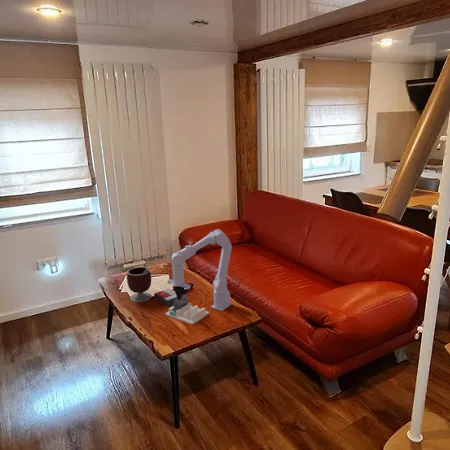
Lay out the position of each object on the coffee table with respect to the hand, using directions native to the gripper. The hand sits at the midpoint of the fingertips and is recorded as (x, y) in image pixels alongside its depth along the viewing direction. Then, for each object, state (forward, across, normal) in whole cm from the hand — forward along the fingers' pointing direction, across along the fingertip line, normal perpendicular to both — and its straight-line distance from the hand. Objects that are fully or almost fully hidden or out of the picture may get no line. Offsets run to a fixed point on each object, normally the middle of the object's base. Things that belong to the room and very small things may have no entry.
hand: (179, 298), depth 211 cm
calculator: (+9, -16, +8) cm, 20 cm away
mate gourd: (+8, -31, +1) cm, 32 cm away
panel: (+7, 0, +1) cm, 7 cm away
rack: (+8, +5, 0) cm, 10 cm away
